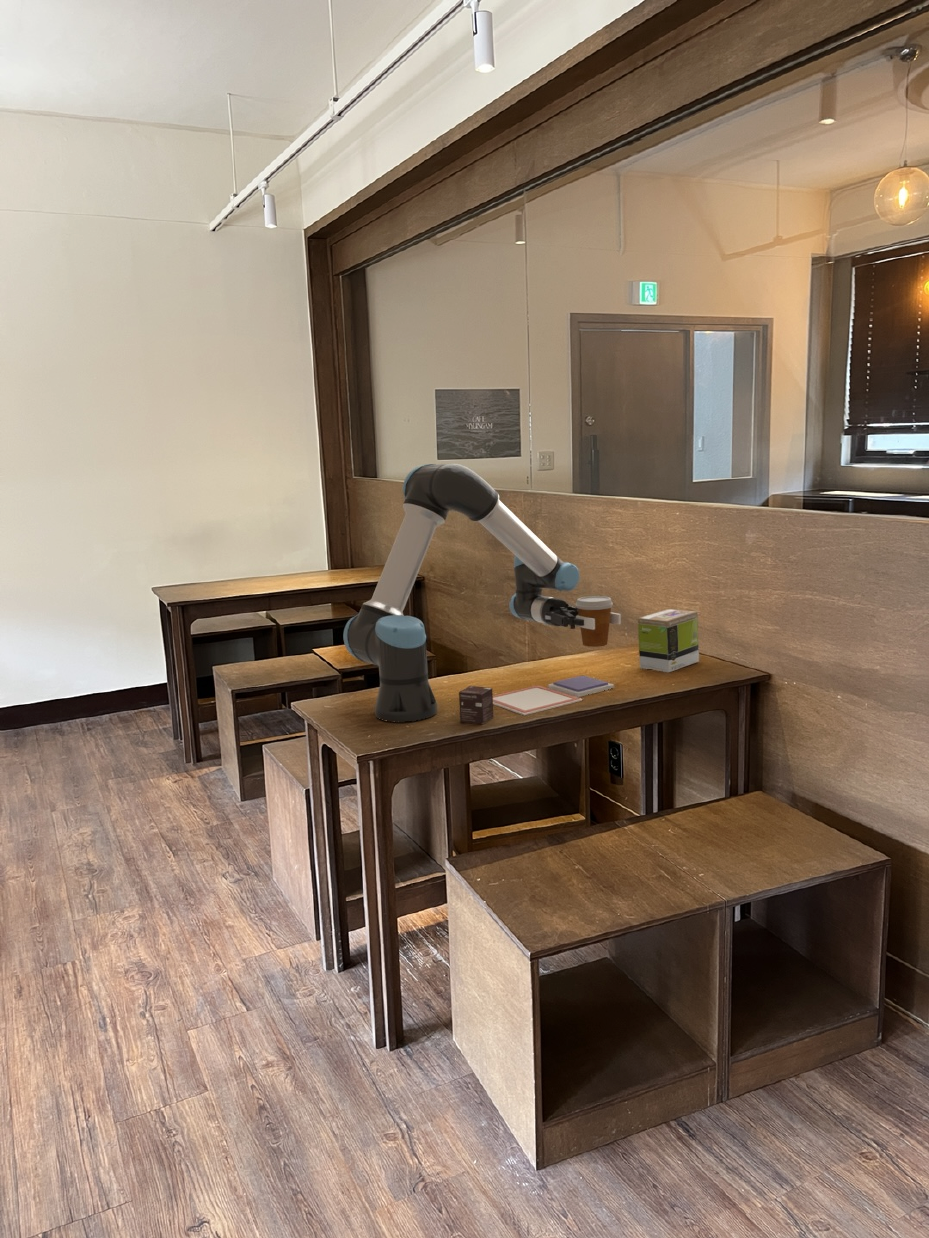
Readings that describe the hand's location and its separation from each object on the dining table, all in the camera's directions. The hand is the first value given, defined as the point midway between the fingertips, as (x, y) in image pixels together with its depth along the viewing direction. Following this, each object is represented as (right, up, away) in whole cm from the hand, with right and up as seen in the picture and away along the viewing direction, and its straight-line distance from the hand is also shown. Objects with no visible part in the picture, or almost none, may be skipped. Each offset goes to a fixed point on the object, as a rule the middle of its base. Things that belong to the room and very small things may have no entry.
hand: (606, 621), depth 224 cm
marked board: (-19, -20, -4) cm, 28 cm away
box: (-33, -23, -17) cm, 44 cm away
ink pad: (-6, -17, +4) cm, 19 cm away
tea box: (+21, -12, +23) cm, 33 cm away
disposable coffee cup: (-2, -6, +5) cm, 8 cm away
